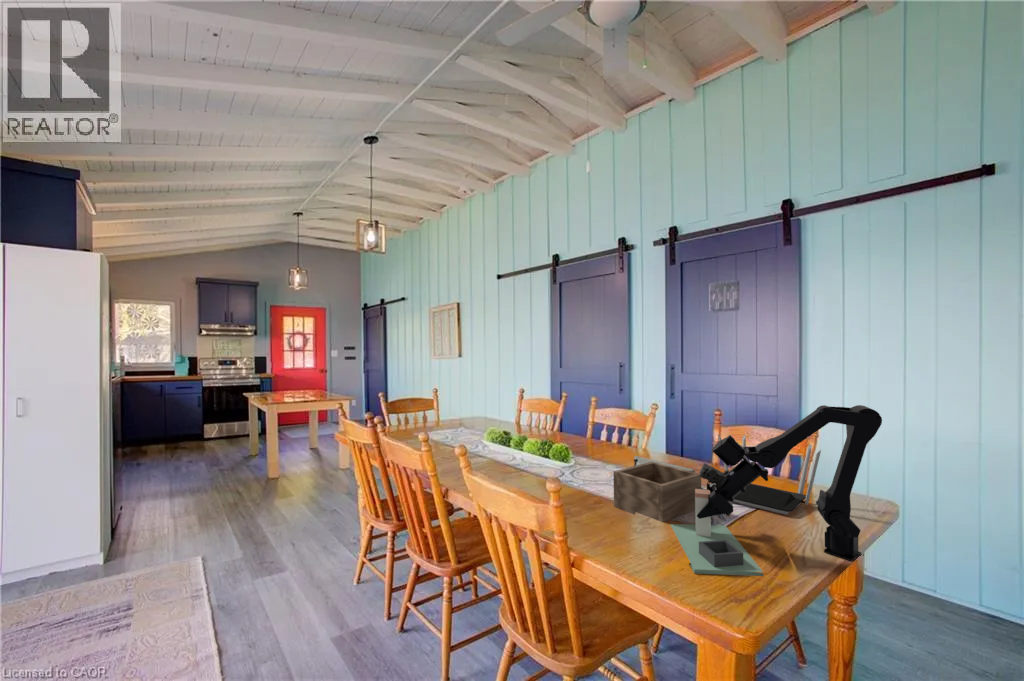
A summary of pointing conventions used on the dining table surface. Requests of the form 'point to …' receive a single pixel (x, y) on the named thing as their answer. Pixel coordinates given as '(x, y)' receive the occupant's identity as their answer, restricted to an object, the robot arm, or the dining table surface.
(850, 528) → the robot arm
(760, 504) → the wireless router
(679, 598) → the dining table surface
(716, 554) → the dark grey tray
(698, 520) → the plug
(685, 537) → the board
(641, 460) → the decorative block
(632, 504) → the open wooden crate
